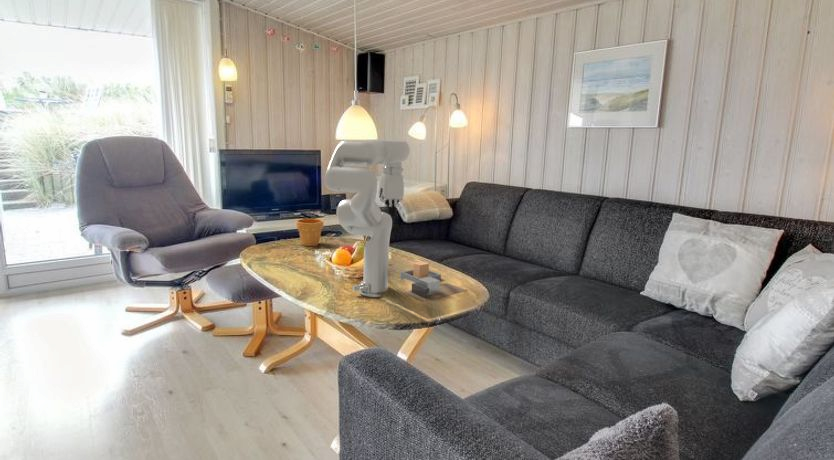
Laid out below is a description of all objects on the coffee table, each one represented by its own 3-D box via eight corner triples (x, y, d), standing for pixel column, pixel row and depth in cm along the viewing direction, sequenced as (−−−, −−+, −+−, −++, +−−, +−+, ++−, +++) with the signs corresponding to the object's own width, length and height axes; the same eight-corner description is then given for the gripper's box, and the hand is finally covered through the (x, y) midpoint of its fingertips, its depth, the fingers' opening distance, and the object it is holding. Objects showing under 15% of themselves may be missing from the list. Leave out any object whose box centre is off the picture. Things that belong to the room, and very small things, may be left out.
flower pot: (292, 246, 256) (291, 222, 254) (302, 240, 270) (302, 217, 268) (317, 248, 254) (317, 223, 252) (327, 242, 268) (327, 219, 265)
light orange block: (419, 281, 200) (419, 265, 199) (413, 279, 203) (413, 263, 202) (428, 279, 204) (428, 263, 202) (422, 277, 207) (422, 261, 205)
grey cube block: (427, 295, 180) (427, 283, 179) (417, 291, 185) (418, 279, 184) (439, 293, 184) (440, 280, 183) (429, 289, 188) (430, 276, 187)
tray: (418, 287, 195) (418, 279, 195) (400, 279, 204) (400, 271, 204) (440, 282, 203) (441, 274, 202) (422, 275, 212) (422, 267, 211)
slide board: (421, 305, 175) (422, 292, 174) (401, 296, 184) (402, 283, 183) (467, 294, 189) (468, 282, 188) (446, 286, 198) (447, 274, 197)
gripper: (401, 170, 204) (400, 213, 208) (371, 170, 195) (370, 215, 199) (412, 171, 199) (410, 215, 202) (382, 172, 189) (381, 218, 193)
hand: (390, 215), depth 200 cm, fingers closed
